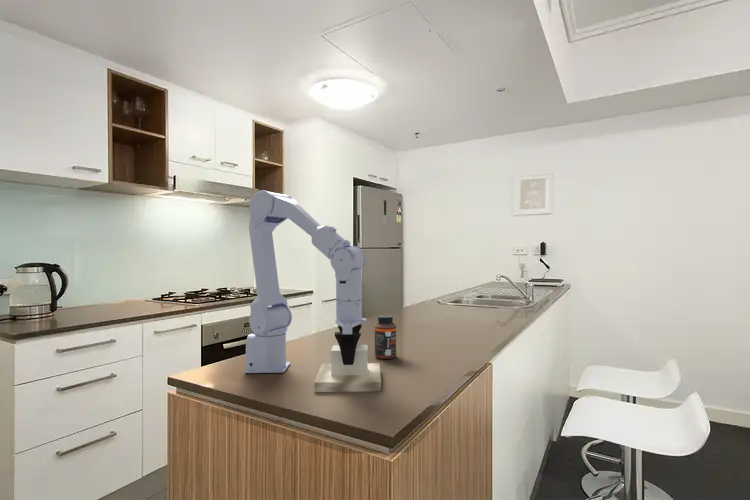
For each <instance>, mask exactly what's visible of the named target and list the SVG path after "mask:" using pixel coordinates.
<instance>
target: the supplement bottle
mask: <svg viewBox="0 0 750 500" xmlns="http://www.w3.org/2000/svg"><path fill="white" fill-rule="evenodd" d="M393 319H394V318H393V315H391V314H390V315H389V314H388V315H387V314H381V315H378V316H377V321H378V322H377V323H376V324H375V325H374V357H375V358H376V359H380V360H391V359H394V358H396V357H397V326H396V324H395V323H394V322H393V321H394V320H393Z"/></svg>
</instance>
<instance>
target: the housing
mask: <svg viewBox="0 0 750 500" xmlns="http://www.w3.org/2000/svg"><path fill="white" fill-rule="evenodd" d="M368 355H369V354H368V344H357V346H356V351H355V358H354V363H353V365H344V364H343V361H342V356H341V351H340V347H339V344H337V345H336V344H334V345H332V347H331V350H330V364H331V376H342V375H368V363H369V362H368V358H369V357H368Z"/></svg>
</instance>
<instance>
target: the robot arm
mask: <svg viewBox="0 0 750 500" xmlns="http://www.w3.org/2000/svg"><path fill="white" fill-rule="evenodd" d="M248 206H249V211H250V212H249V214H250V217H249V224H248V231H249V237H250V238H249V241H250V246H251V247H250V248H251V257H252V262H253V271H254V279H255V287H256V295H257V297H255V298H254V300H253V301H252V303H250V307H249V308H250V315H249V318H248V322H249V323H248V325H249V327H250V329H251V331H252V332H253V333H249V334H248V335H247V337H246V341H245V342H246V343H245V370H244V371H245V372H244V373H245V374H272V373H273V374H275V373H277V374H279V373H280V374H283V373H285V372H286V370H287V369H288V368H289V366H290V365H291V362H290V361H287V332H288V327H289V326H291V323H292V321H293V315H292V311H291V309H290V308H289V306H288V305H289V304H288V300H287V298H286V297H285V296H284V295H283V294H282V293H281V292H280V285H279V276H278V268H277V261H276V260H277V259H276V254H275V252H276V251H275V246H274V245H275V244H274V239H273V238H274V237H273V231H274V230H276V229H277V227H278V226H280V225H281V224H283V222H285V221H286V220H290V221H291V222H292V223H294V224H295V225H296V226H298V227H299V228H300V229H301V230H302V231H304V232H305V233H306V234H307V235H309V236H310V237H311V245H313V246H314V247H315V248H316V249H317V250H318V251H319V252H321V253H322V254H323V255H324V256H325V257H326V258H327V259H328V260H329V261H330V265H331V267H332V270H334V274H335V275H334V276H335V277H334V278H335V298H336V299H335V300H336V301H335V307H336V309H335V310H336V312H335V313H336V314H335V324H336V325H337V329H338V330H339V331H335V332H334V337H335V339H336V341H337V343H338V344H337V345H339V347H340V351H341V356H342V361H343V364H344V365H353V363H354V358H355V351H356V346H357V345H358V343H359V340H360V338H361V335H362V333H361V332H360V331H361V329H362V327H363V325H362V324H364V323H367V322H368V321H367V318H366V317H365V318H364V317H362V269H363V268H364V266H365V265H366V254H365V253H364V251H363V250H362V248H361V247H359V246H357V245H356V246H355V245H352V246H351V241H349V240H348V239H345V238H344V237H342V236H341V235H339V233H337V228H336V227H334V226H329V225H322V226H321V225H320V223H319V222H318V221H317V220H316V219H314V218H313V217H312V216H311V215H310V213H308V212H307V211H306V210H305V209H304V208H303V207H302V206H301V205H300V204H299V202H298V200H296V199H294V198H293V197H292V196H291V195H289V194H287V193H277V192H273V191H268V190H264V189H260V190H259V191H257V192H255V193H254V195H253V196H252V197H251V198H250V200H249V202H248Z"/></svg>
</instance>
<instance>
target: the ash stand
mask: <svg viewBox="0 0 750 500" xmlns="http://www.w3.org/2000/svg"><path fill="white" fill-rule="evenodd" d="M320 365H321V366H320V367H319V370H318V372H317V375H316V378H315V379H314V384H313V385H314V386H313V387H314V388H313V389H314V393H341V392H342V393H344V392H346V393H348V392H350V393H351V392H355V393H357V392H382V378H381V377H382V376H381V375H382V374H381V366H380V363H379V362H368V375H342V376H331V363H321V364H320Z"/></svg>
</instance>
